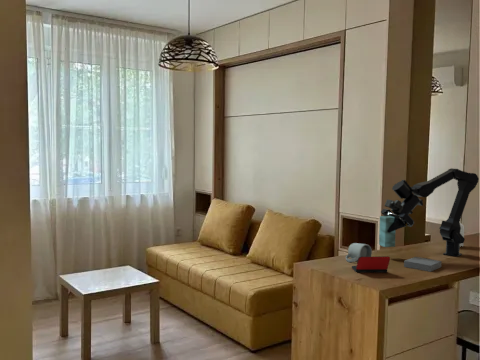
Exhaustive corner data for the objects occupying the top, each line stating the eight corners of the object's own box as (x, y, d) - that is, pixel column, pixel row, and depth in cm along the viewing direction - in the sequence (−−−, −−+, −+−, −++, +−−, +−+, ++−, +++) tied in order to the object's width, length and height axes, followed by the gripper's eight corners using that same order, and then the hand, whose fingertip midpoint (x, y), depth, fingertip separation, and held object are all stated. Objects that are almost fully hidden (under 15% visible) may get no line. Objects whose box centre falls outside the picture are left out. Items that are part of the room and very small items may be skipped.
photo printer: (456, 245, 238) (457, 221, 237) (464, 246, 234) (465, 222, 233) (445, 247, 232) (446, 222, 231) (453, 248, 228) (454, 224, 228)
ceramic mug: (357, 257, 207) (358, 240, 207) (372, 261, 201) (372, 243, 200) (340, 260, 202) (341, 243, 201) (355, 264, 195) (355, 246, 194)
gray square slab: (415, 262, 199) (415, 256, 199) (441, 267, 191) (441, 261, 191) (403, 266, 191) (404, 260, 191) (430, 271, 183) (430, 265, 183)
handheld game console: (381, 268, 189) (381, 250, 188) (390, 275, 178) (391, 256, 178) (350, 268, 189) (351, 250, 188) (358, 275, 178) (358, 256, 177)
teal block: (389, 244, 209) (389, 215, 208) (395, 246, 205) (395, 217, 203) (379, 244, 208) (379, 216, 207) (384, 247, 203) (385, 218, 202)
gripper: (385, 191, 215) (363, 215, 213) (408, 195, 197) (384, 221, 195) (399, 207, 217) (377, 231, 215) (424, 213, 199) (400, 239, 197)
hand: (384, 230), depth 206 cm, fingers closed on teal block, 5 cm apart
